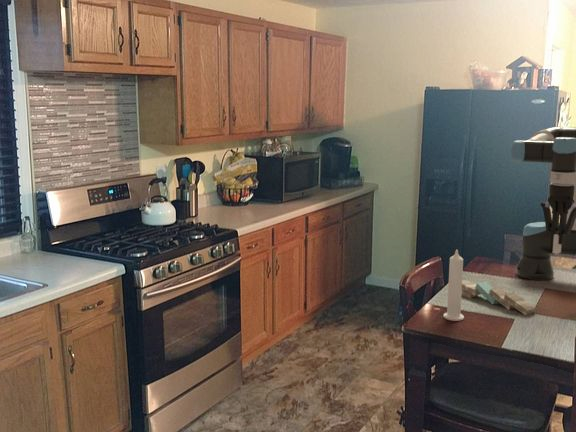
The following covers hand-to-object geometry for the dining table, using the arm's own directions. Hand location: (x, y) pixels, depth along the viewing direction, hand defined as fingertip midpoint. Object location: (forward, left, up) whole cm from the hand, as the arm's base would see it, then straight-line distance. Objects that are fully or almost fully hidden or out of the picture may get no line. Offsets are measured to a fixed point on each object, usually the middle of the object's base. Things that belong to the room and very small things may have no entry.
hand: (556, 252), depth 200 cm
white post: (+24, -23, -25) cm, 41 cm away
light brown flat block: (-1, -32, -24) cm, 40 cm away
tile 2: (0, -14, -23) cm, 27 cm away
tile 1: (0, -8, -23) cm, 25 cm away
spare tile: (0, -21, -23) cm, 31 cm away
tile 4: (-1, -30, -22) cm, 37 cm away
